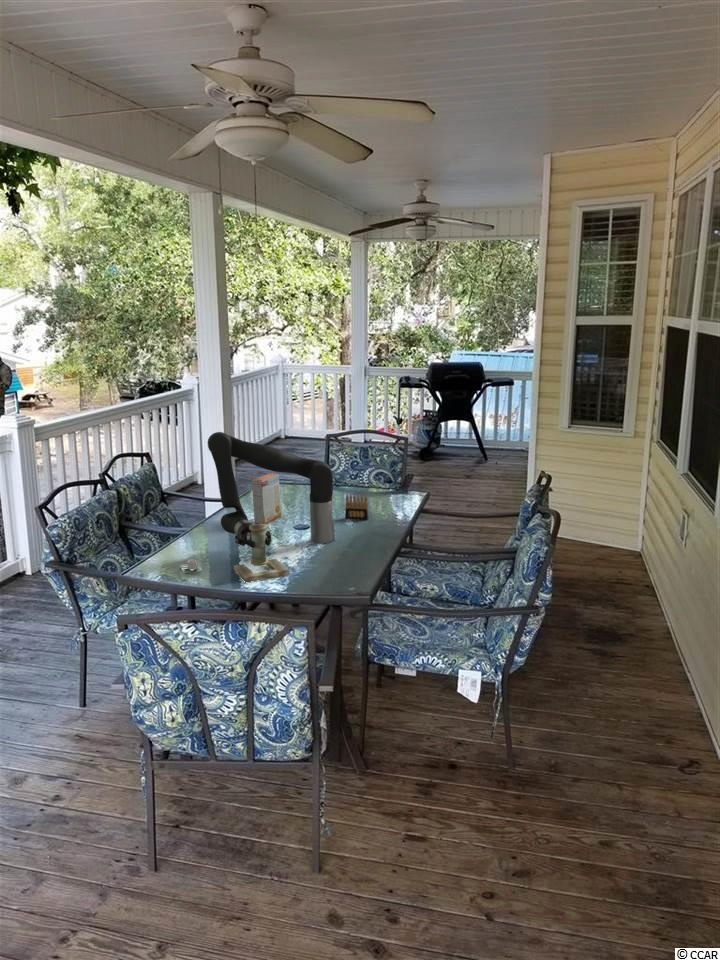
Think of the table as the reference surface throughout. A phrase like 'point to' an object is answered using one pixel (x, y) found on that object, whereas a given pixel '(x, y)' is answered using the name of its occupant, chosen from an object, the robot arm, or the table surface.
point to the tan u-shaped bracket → (275, 571)
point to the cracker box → (266, 498)
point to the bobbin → (258, 544)
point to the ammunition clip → (354, 512)
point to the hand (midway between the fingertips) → (260, 544)
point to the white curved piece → (190, 564)
